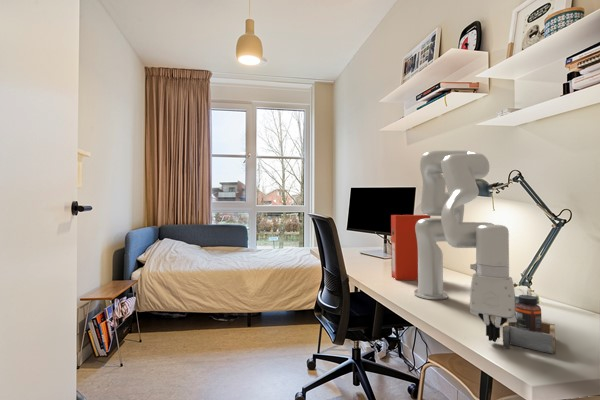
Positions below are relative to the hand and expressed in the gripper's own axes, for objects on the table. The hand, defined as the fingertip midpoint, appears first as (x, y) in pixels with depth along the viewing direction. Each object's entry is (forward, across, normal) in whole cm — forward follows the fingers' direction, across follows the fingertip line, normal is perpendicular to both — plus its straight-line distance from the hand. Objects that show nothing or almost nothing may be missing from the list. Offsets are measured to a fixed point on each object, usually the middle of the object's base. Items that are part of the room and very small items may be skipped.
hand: (493, 339), depth 83 cm
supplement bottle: (+1, +7, +9) cm, 12 cm away
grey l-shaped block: (+1, +7, +1) cm, 8 cm away
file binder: (+2, -44, +60) cm, 75 cm away
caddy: (+1, +7, +9) cm, 12 cm away
